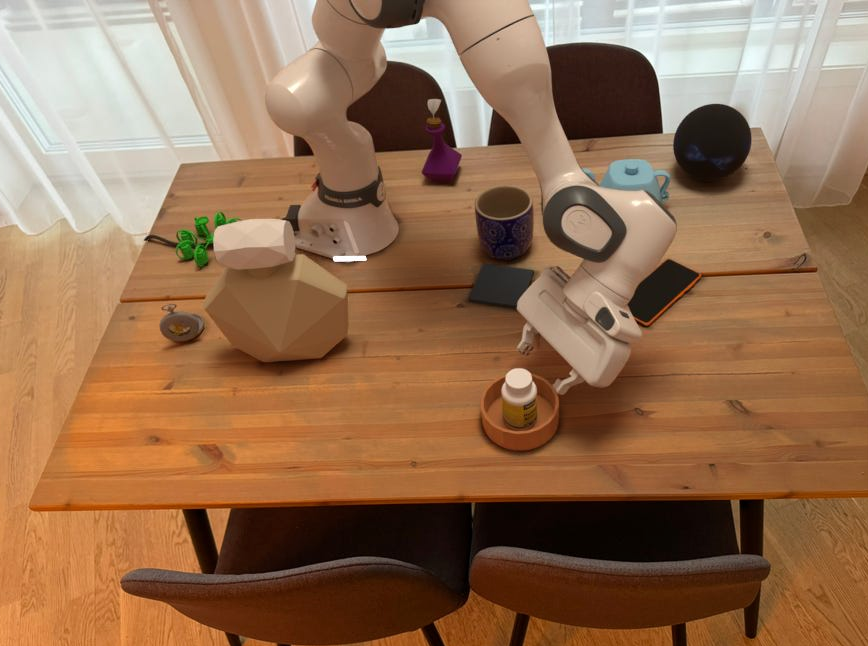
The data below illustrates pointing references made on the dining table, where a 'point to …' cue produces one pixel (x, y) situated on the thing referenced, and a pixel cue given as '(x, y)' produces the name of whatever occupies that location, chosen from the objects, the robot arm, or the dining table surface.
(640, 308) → the smartphone
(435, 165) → the perfume bottle
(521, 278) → the mat
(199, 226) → the chandelier
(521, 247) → the planter
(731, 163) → the decorative sphere
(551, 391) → the round wooden tray
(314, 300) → the faceted beige jar
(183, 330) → the pocket watch
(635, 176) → the teapot
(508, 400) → the supplement bottle
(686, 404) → the dining table surface
